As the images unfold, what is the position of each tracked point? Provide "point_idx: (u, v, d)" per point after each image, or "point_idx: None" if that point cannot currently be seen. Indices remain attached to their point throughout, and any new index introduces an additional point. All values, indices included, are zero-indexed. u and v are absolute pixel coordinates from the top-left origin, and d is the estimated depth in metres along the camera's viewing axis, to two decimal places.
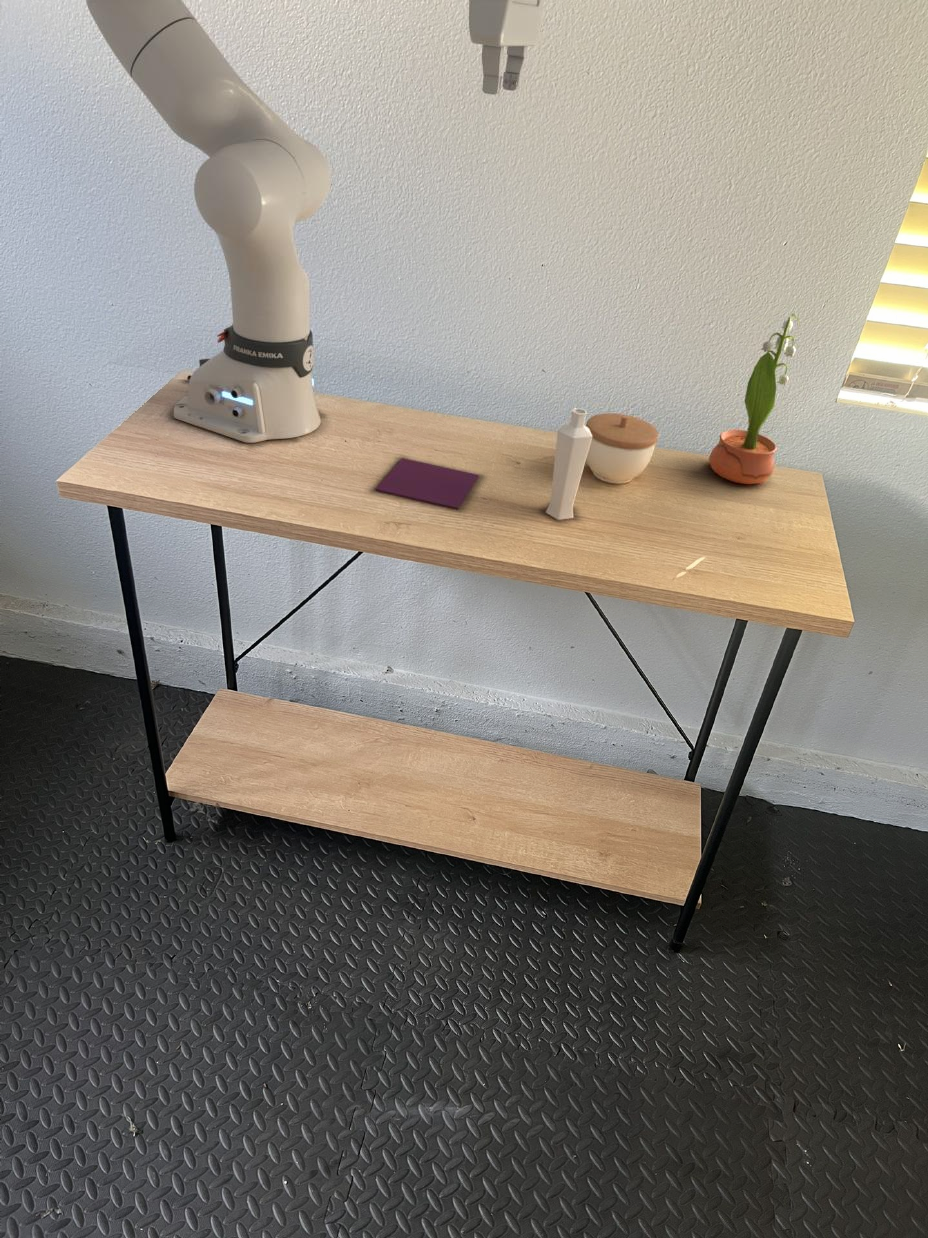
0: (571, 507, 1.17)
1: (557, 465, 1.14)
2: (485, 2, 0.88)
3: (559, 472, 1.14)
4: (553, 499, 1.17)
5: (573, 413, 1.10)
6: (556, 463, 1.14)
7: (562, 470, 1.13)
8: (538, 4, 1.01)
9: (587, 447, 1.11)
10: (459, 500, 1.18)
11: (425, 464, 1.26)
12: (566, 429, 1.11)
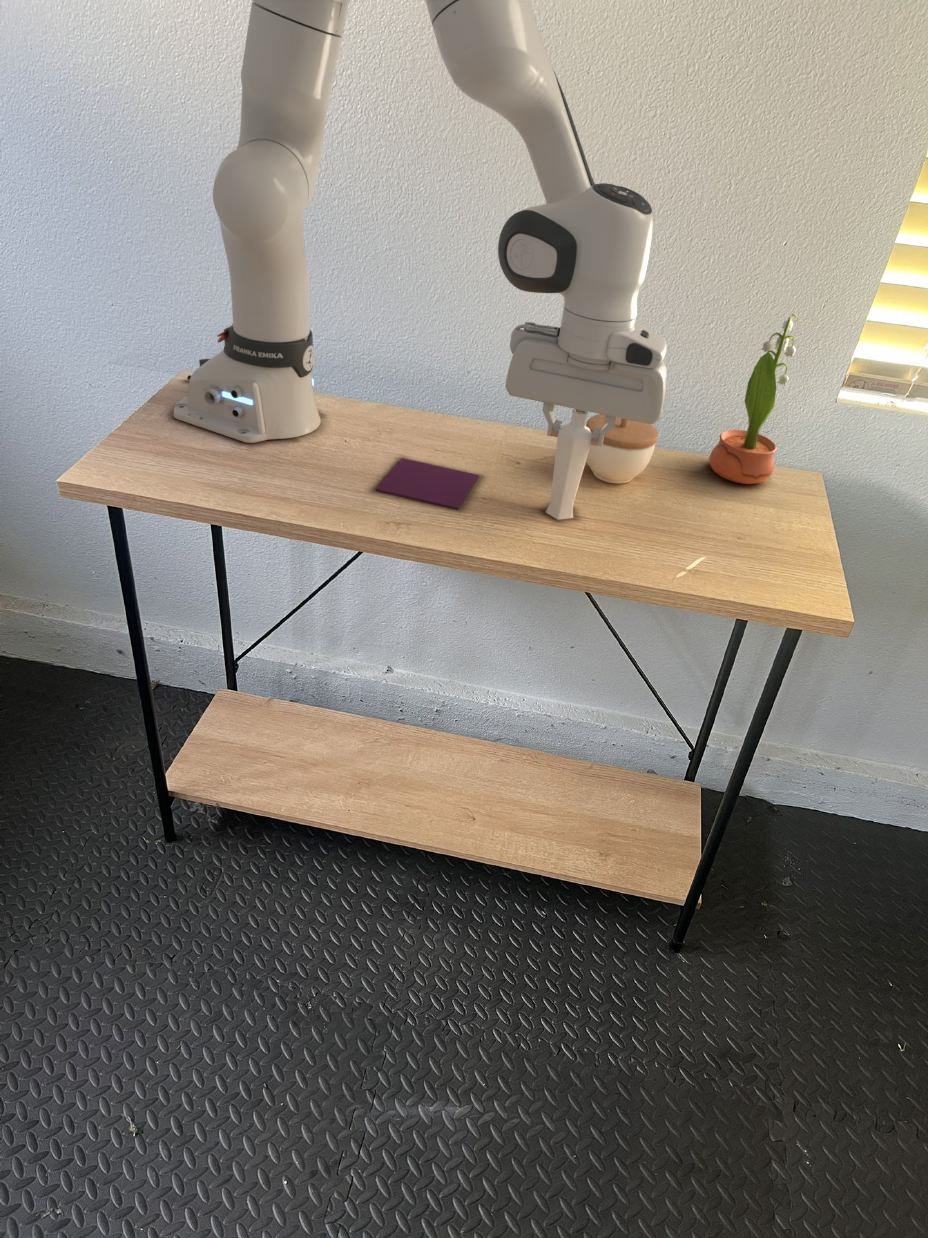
0: (571, 507, 1.17)
1: (557, 465, 1.14)
2: (664, 395, 1.05)
3: (559, 472, 1.14)
4: (553, 499, 1.17)
5: (574, 413, 1.09)
6: (556, 463, 1.14)
7: (563, 470, 1.13)
8: None
9: (587, 447, 1.11)
10: (459, 500, 1.18)
11: (425, 464, 1.26)
12: (567, 429, 1.11)
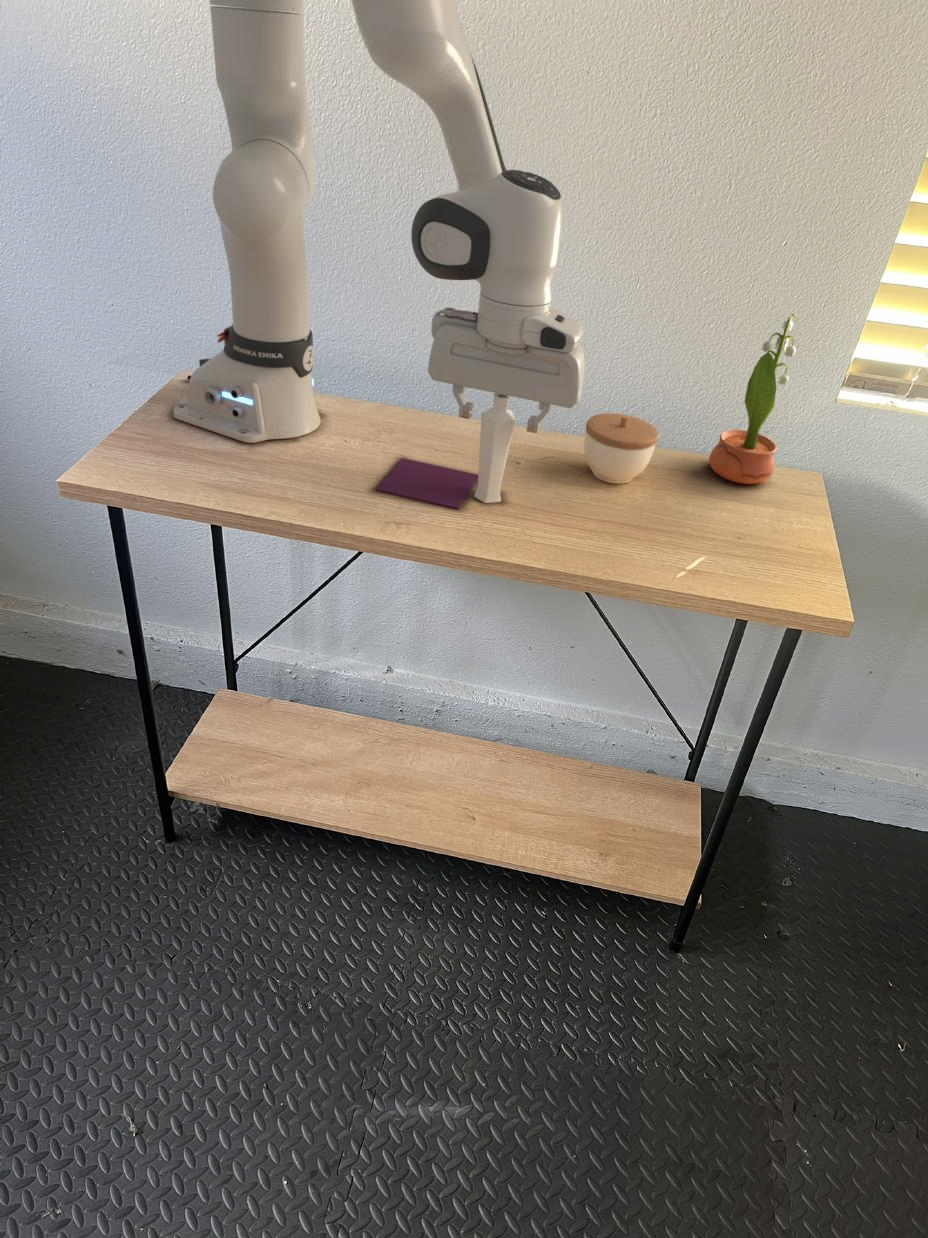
0: (498, 491, 1.19)
1: (482, 449, 1.15)
2: (581, 379, 1.07)
3: (484, 456, 1.16)
4: (480, 483, 1.18)
5: (495, 397, 1.11)
6: (481, 446, 1.15)
7: (487, 453, 1.15)
8: None
9: (510, 431, 1.13)
10: (459, 500, 1.18)
11: (425, 464, 1.26)
12: (489, 413, 1.12)
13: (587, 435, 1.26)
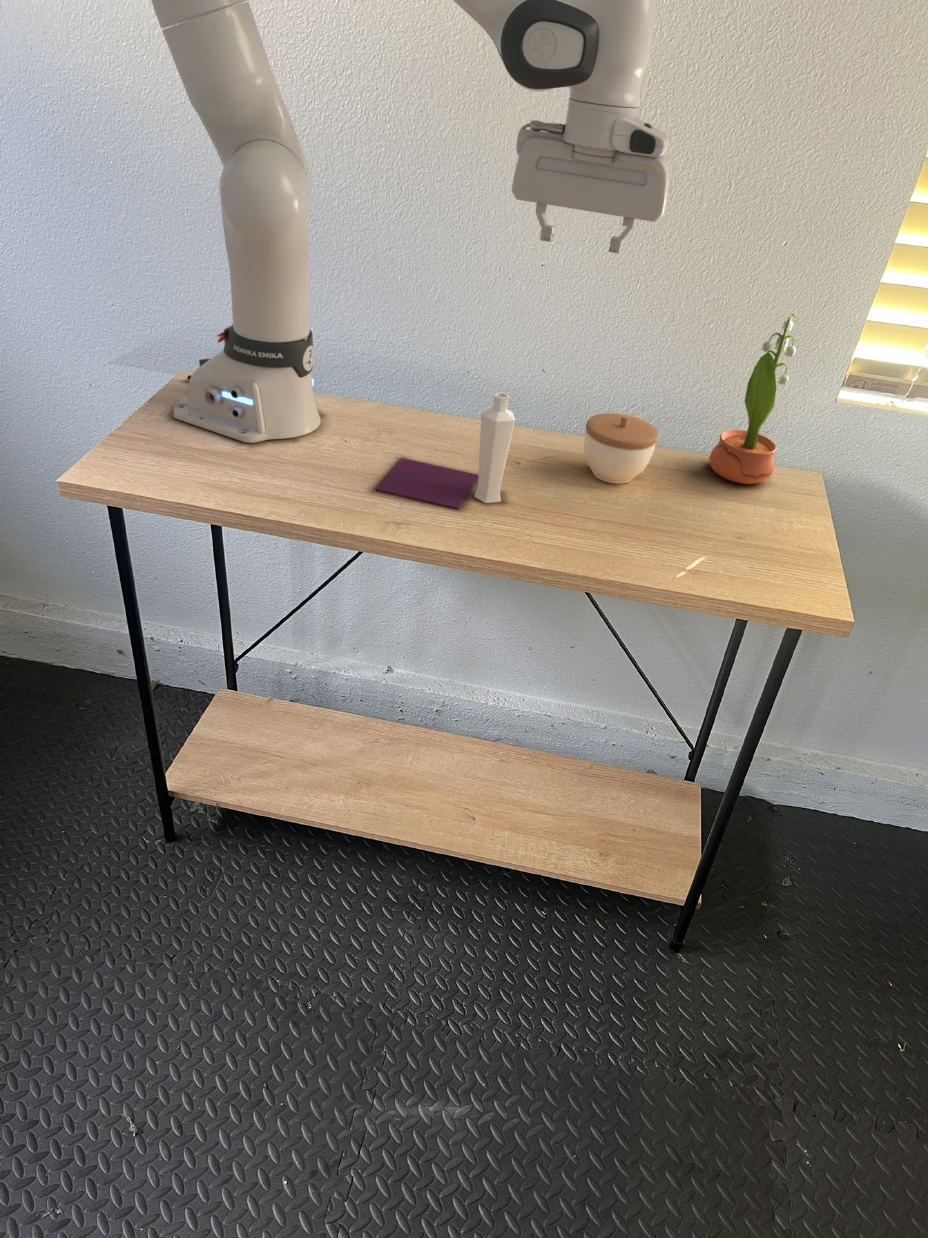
0: (498, 491, 1.19)
1: (482, 449, 1.15)
2: (667, 190, 1.08)
3: (484, 456, 1.16)
4: (480, 483, 1.18)
5: (495, 397, 1.11)
6: (481, 446, 1.15)
7: (487, 453, 1.15)
8: None
9: (510, 431, 1.13)
10: (459, 500, 1.18)
11: (425, 464, 1.26)
12: (489, 413, 1.12)
13: (587, 435, 1.26)
